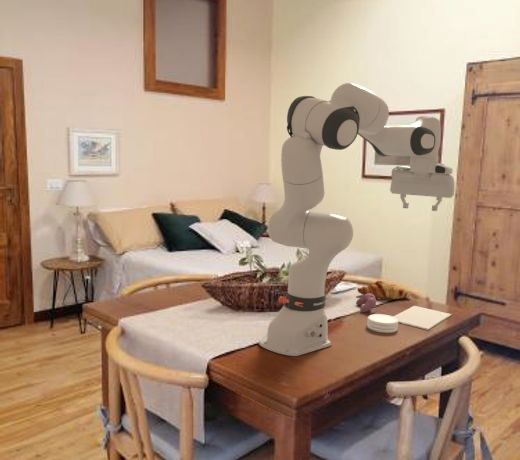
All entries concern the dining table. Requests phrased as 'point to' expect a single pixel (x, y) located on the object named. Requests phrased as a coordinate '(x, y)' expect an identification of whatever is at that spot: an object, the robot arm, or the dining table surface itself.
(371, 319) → the coaster
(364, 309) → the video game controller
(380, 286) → the croissant
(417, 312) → the cream rectangular panel
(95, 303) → the dining table surface
